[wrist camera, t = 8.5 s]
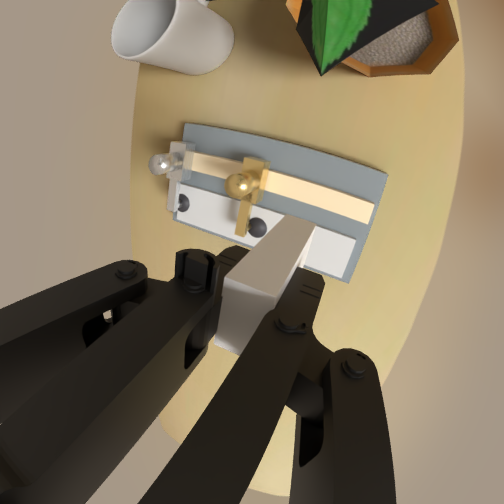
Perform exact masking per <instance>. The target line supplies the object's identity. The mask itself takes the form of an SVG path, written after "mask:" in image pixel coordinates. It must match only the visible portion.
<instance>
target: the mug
mask: <svg viewBox="0 0 504 504" xmlns="http://www.w3.org/2000/svg"><path fill="white" fill-rule="evenodd" d="M208 3H209V1H206V0H128V1H127V3H126V4H125V5H124V6H123V7H122V9H121V10H120V12H119V13H118V15H117V17H116V19H115V22H114V24H113V28H112V32H111V44H112V48H113V50H114V52H115V53H116V54H117V55H118V56H119V57H121V58H123V59H126V60H131V61H136V62H141V63H146V64H150V65H155V66H159V67H163V68H167V69H171V70H175V71H178V72H181V73H185V74H189V75H202V74H206V73H209V72H211V71H213V70H215V69H216V68H218V67H219V66H220V65H221V64H222V63H223V62H224V61H225V60H226V59H227V57H228V56H229V54H230V53H231V50H232V48H233V45H234V32H233V29H232V27H231V25H230V24H229V23H228V22H227V21H226V20H225V19H224V18H222V17H221V16H219V15H218V14H216V13H215V12H213V11H212V10H211V9H209V8H207V6H208Z"/></svg>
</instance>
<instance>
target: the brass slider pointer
mask: <svg viewBox="0 0 504 504" xmlns="http://www.w3.org/2000/svg"><path fill="white" fill-rule="evenodd" d="M270 163H271V161H268V160H264V159H260V158H257V157H252V156H250V157H244V161H243V166H242V171H241V172H239V173H236V174H232V175H230V176H228V177H227V178H226V180H225V183H224V188H225V191H226V193H227V194H228V195H229V196H230V197H232V198H237V199H240V200H241V202H240V207H239V213H238V218H237V223H236V228H235V233H234V234H235V235H238V236H241V237H243V238H244V237H245V236H246V234H247V231H248V230H250V229H251V224H250V223H249V220H250V215H251V210H252V206H253V204H257V203H259V202H260V201H262V199H263V194H264V190H265V186H266V181H267V177H268V172H269V168H270Z"/></svg>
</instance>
